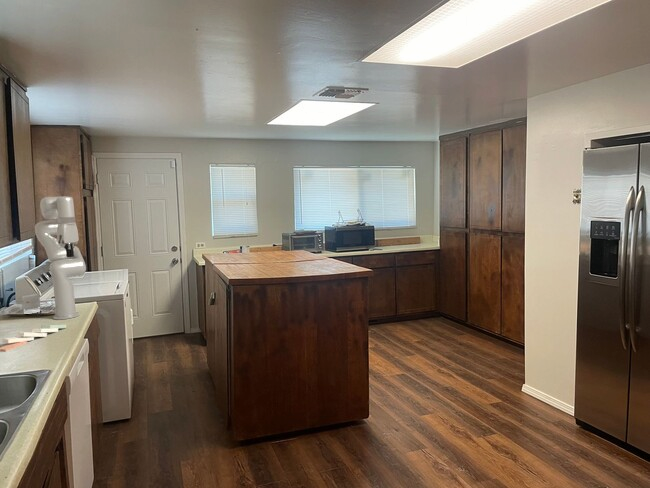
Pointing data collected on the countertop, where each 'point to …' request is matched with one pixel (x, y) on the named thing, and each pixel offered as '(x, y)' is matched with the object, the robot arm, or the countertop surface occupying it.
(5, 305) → the countertop surface
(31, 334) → the domino
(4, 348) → the domino
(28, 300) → the small box
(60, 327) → the domino
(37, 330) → the domino
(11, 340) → the domino
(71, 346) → the countertop surface
